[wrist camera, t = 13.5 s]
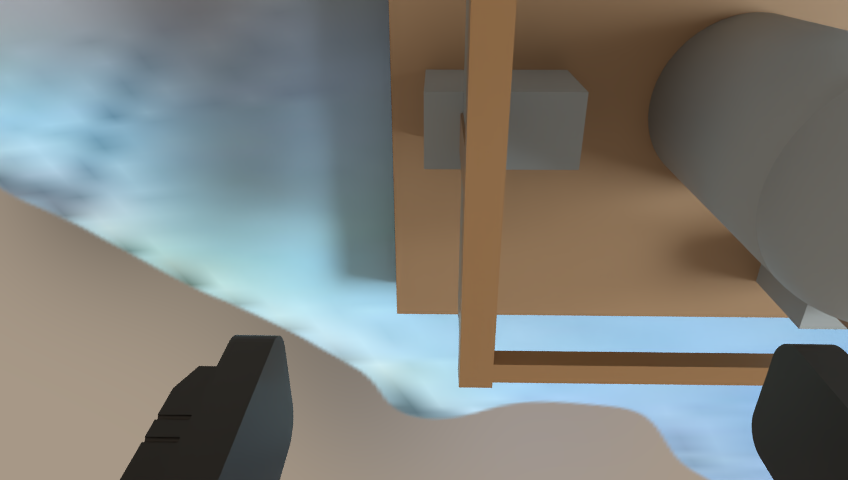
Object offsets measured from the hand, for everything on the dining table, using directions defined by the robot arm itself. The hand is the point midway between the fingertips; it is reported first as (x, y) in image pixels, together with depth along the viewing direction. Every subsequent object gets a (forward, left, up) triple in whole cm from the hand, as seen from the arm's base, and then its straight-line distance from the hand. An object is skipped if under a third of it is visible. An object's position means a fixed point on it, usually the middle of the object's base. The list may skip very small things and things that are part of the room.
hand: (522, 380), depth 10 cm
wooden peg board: (0, +7, -21) cm, 22 cm away
